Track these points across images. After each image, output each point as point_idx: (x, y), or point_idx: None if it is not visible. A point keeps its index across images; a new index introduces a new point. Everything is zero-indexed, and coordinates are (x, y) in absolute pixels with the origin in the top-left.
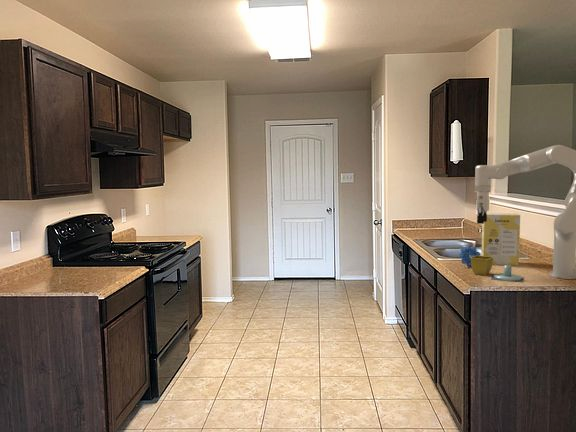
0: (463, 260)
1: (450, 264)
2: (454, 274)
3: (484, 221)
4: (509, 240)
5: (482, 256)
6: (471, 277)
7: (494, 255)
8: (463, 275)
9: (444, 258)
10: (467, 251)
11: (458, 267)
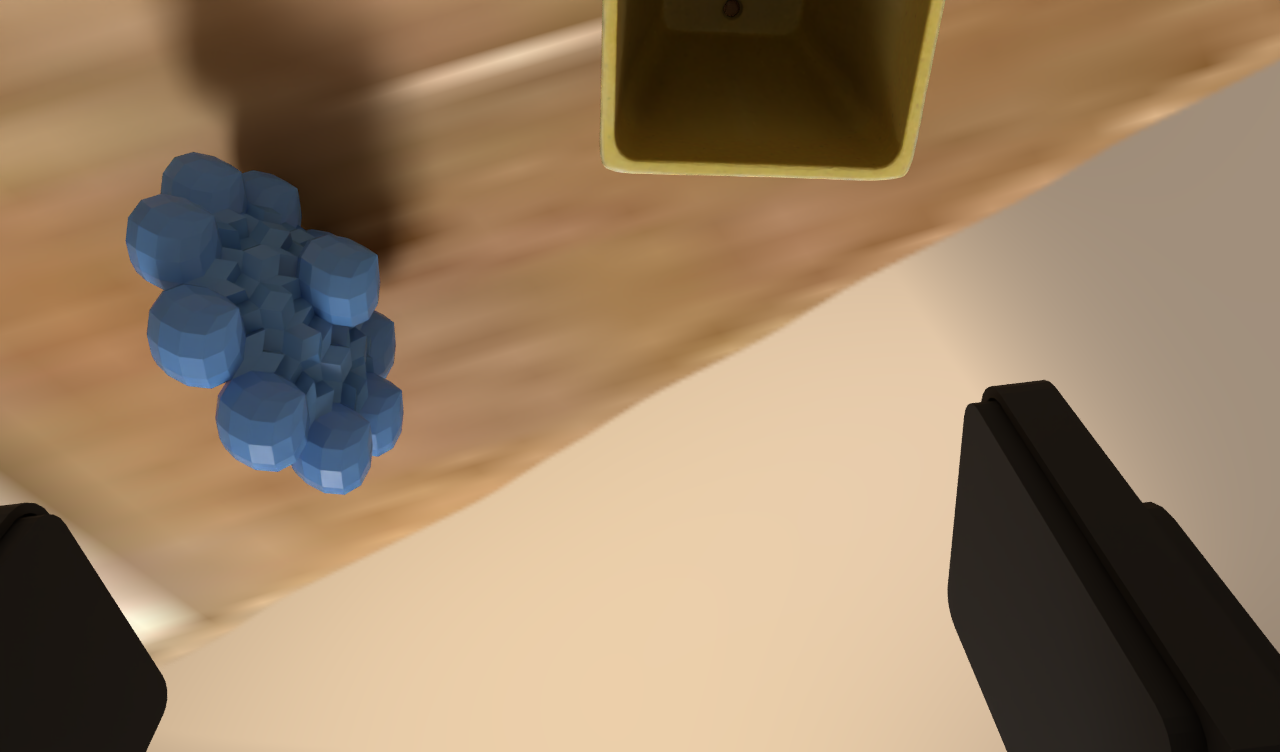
0: (388, 351)
1: None
2: (889, 258)
3: (84, 567)
4: None
5: (617, 45)
6: (987, 25)
7: None
8: None
9: None
10: (309, 390)
11: (442, 346)
